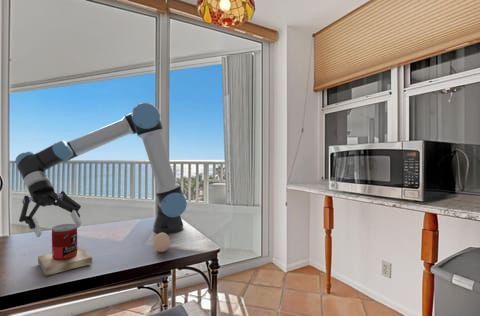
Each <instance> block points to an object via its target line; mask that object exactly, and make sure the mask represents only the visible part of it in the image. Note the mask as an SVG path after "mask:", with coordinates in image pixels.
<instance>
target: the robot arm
mask: <svg viewBox="0 0 480 316" xmlns="http://www.w3.org/2000/svg"><path fill="white" fill-rule="evenodd" d="M162 125H163V124H162V121H161V113H160V111H159V109H158V108H157V106H155V105H154V104H152V103H150V102H141V103H138V104H136V105H135V106H134V107H133V108H132V110H131V112H130V113H128V114H127V115H124V116H123V118H122V119H119V120H118V121H116V122H113V123H111V124H108V125H106V126H102V127H101V128H98V129H95V130H93V131H91V132H89V133H87V134H86V133H85V134H84V135H82V136H79V137H77V138H75V139H72V140H70V141H65V140H60V141H58V142H55V143H53V144H52V145H49V146H48V147H45V148H44V149H42V150H40V151H39V152H36V153H35V152H34V151H26V152H21V153H20V154H18V155H17V156H16V157H15V164H16V166H17V170H18V171H19V173H20V175H21V178H22V179H23V182H24V185H25V186H26V188H27V190H28V193H29V195H30V196H28V195H24V197H23V198H22V204H23V205H22V209H21V212H20V216H19V219H18V221H19V222H20V223H23V222H24V223H25V224H27V225H28V227H29V229H30V230H33V232H34V234H35V236H36V238H40V237H41V236H42V234H43V231H42V228H41V227H40V224H39V222H38V220H37V218H36V217H34V216H35V214H36V212H37V211H38V209H39V208H40V206H41V207H47V206H54V207H59V208H61V209H63V210H65V211H67V212H68V213H69V212H70V216H71V218H72V220H73V222H74V224H76V225H77V229H78V228H80V227H81V225H82V224H83V223H82V221H81V219H80V218H81V215H80V213H79V210H80V209H81V207H82V205H80V204H79V203H78V202H76V201H75V200H74V199H72V197H70V196H68V195H67V194H66V193H65V191H64V190H62V191H61V192H58V193H57V192H56V191H55V188H54V187H53V186H54V185H52V183H51V181H50V178H49V177H48V175H47V173H46V171H47V170H49V169H50V168H53V167H54V166H56V165H58V164H60V163H66V162H69V161H71V160H72V159H74V158H77V157H79V156H81V155H84V154H85V153H89V152H90V151H92V150H95V149H97V148H100V147H102V146H105V145H107V144H110V143H111V142H114V141H116V140H118V139H120V138H123V137H125V136H128V135H130V134H131V135H135V134H137V137H138V138H141V141H142V142H143V146H144V148H145V152H146V156H147V158H148V161H149V164H150V166H151V167H150V168H151V170H152V173H153V176H154V181H155V183H156V186H157V188H156V190H155V195H156V217H155V220H154V224H153V232H155V233H156V234H157V233H158V234H159V233H162V232H163V233H166V234H173V233H178V232H181V231H182V230H184V223H183V220H182V217H181V215H183V214H184V212H185V211H186V208H187V205H188V203H187V199H186V197H185V196H184V194H183V191H182V187H181V184H180V183H178V182H176V179H175V176H174V175H175V174H174V172H173V169H172V166H171V162H170V160H169V155H168V153H167V149H166V146H165V143H164V139H163V136H162V132H163V130H164V128H163V126H162ZM31 202H33V203H35V205H34V206H33V208H32V210H31V211H30V213H29V214H28V215H27V213H28V209H29V205H30V203H31Z"/></svg>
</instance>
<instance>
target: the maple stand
mask: <svg viewBox="0 0 480 316" xmlns="http://www.w3.org/2000/svg"><path fill="white" fill-rule="evenodd" d="M37 264H38V266H39V267H40V269H41V270H42V272H43V274H44V275H45V276H47V277H48V276H52V275H55V274H57V273H62V272H66V271H69V270H73V269H76V268H77V269H78V268H81V267H82V268H83V267H86V266H90V265H92V264H93V256H92V255H91V254H90V253H88V252H87V251H86V250H85V249H84V247H82V246H79V247H78V246H77V255H76V256H75V257H73V258H71V259H68V260H54V259H53V257H52V252H51V253H46V254H43V255H38V256H37Z"/></svg>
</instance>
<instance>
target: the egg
mask: <svg viewBox="0 0 480 316" xmlns="http://www.w3.org/2000/svg"><path fill="white" fill-rule="evenodd" d="M170 245H171V239H170V236H169V235H168V233H163V232H162V233H158V234H156V236H155V237H154V238H153V247H154V249H155V251H157V252H159V253H164V252H166V251H167V250H168V249H169V248H170Z"/></svg>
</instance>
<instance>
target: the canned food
mask: <svg viewBox="0 0 480 316" xmlns="http://www.w3.org/2000/svg"><path fill="white" fill-rule="evenodd" d="M77 248H78V228H77V225H76V224H75V223H63V224H59V225H55V226H53V227H52V228H51V253H52V257H53V259H54V260H68V259H71V258H73V257H75V256H76V255H77Z"/></svg>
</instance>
